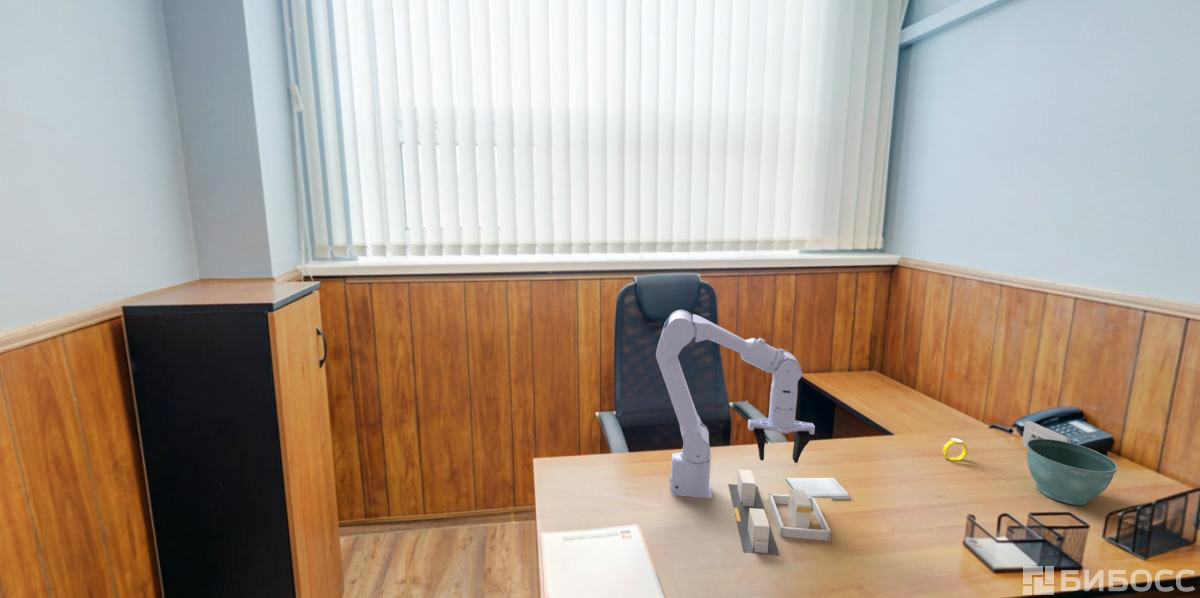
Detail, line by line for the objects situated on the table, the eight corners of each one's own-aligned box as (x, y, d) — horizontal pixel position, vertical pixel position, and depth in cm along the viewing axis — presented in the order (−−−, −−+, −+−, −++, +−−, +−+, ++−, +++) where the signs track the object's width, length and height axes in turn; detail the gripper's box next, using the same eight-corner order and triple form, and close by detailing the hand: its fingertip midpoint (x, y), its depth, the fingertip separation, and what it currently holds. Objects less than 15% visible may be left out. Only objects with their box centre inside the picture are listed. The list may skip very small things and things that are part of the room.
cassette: (1019, 444, 152) (1023, 420, 151) (1025, 444, 152) (1029, 419, 151) (1061, 465, 141) (1066, 439, 139) (1066, 464, 141) (1072, 438, 139)
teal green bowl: (1090, 486, 130) (1099, 446, 128) (1121, 522, 116) (1131, 477, 114) (1011, 471, 137) (1018, 433, 135) (1031, 503, 122) (1039, 461, 120)
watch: (959, 458, 144) (964, 438, 143) (967, 463, 142) (971, 443, 140) (938, 456, 144) (943, 436, 143) (945, 461, 141) (950, 441, 140)
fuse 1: (740, 502, 120) (742, 482, 120) (737, 488, 126) (738, 469, 125) (754, 503, 120) (755, 483, 119) (749, 489, 126) (751, 470, 125)
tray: (780, 538, 109) (781, 528, 108) (768, 503, 121) (769, 493, 121) (830, 543, 108) (831, 532, 107) (812, 506, 120) (813, 496, 120)
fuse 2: (752, 547, 105) (754, 525, 104) (747, 529, 111) (749, 508, 110) (767, 549, 105) (769, 526, 104) (762, 530, 110) (763, 509, 109)
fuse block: (743, 554, 104) (744, 543, 103) (728, 486, 128) (728, 476, 128) (779, 557, 103) (780, 546, 102) (757, 488, 127) (757, 478, 127)
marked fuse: (794, 529, 111) (797, 504, 110) (787, 512, 117) (789, 488, 116) (809, 530, 111) (811, 505, 109) (801, 513, 117) (803, 489, 115)
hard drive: (798, 495, 123) (850, 494, 123) (785, 477, 131) (833, 476, 131) (798, 502, 123) (849, 501, 124) (784, 483, 131) (832, 482, 132)
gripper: (753, 410, 116) (749, 465, 119) (820, 414, 114) (815, 470, 117) (748, 398, 123) (744, 451, 125) (811, 401, 121) (806, 455, 124)
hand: (778, 459), depth 122 cm, fingers open, 7 cm apart
